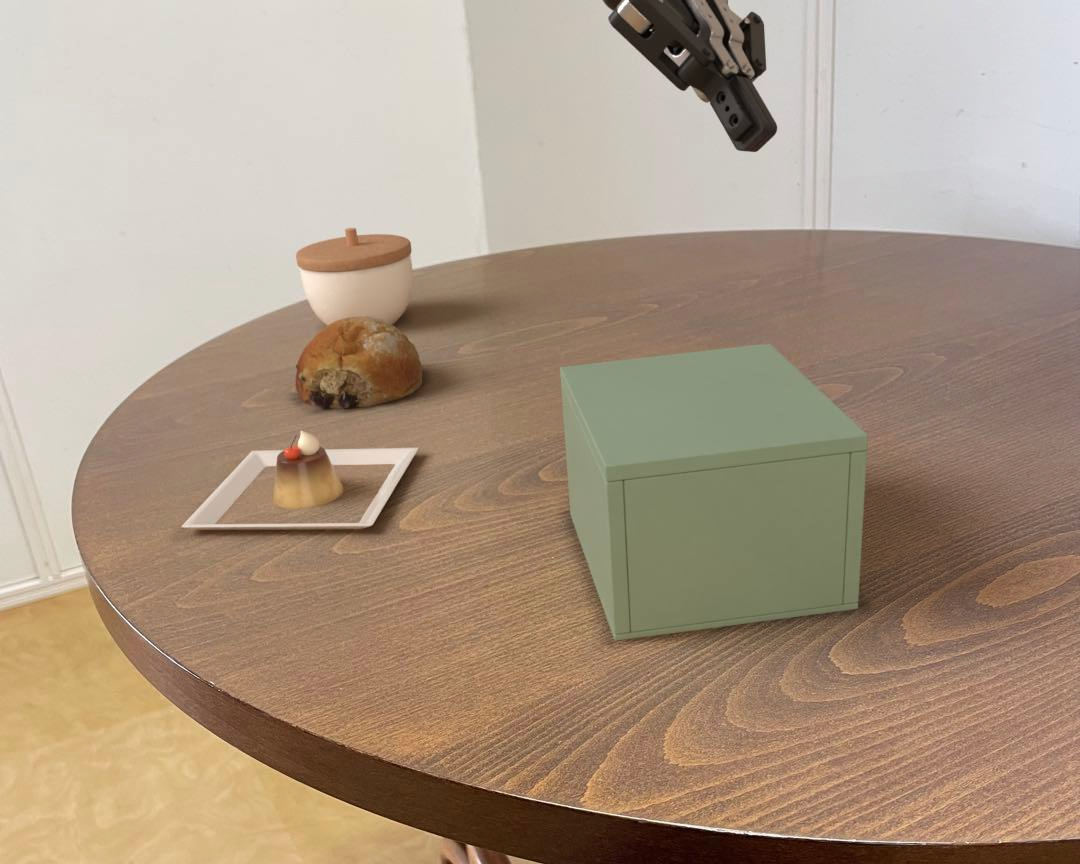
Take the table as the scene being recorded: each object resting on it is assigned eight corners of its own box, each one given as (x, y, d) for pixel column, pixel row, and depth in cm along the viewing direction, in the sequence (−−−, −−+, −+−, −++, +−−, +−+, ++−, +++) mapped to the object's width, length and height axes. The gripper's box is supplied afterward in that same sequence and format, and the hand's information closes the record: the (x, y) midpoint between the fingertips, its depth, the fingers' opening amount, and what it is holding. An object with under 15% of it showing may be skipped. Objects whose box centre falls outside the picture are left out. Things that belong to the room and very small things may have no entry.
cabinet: (570, 520, 67) (559, 366, 63) (768, 496, 68) (770, 342, 64) (615, 649, 54) (604, 466, 50) (858, 617, 55) (868, 434, 51)
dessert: (184, 543, 69) (166, 471, 66) (255, 465, 79) (241, 400, 77) (374, 542, 67) (362, 468, 65) (420, 462, 77) (412, 396, 75)
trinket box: (415, 339, 104) (401, 236, 100) (300, 348, 104) (281, 246, 100) (425, 308, 113) (413, 213, 109) (319, 316, 114) (303, 222, 110)
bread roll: (437, 436, 91) (459, 338, 90) (334, 419, 84) (357, 313, 83) (364, 411, 98) (384, 320, 97) (263, 394, 90) (283, 295, 89)
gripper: (591, -173, 61) (740, 84, 58) (731, -118, 70) (866, 106, 67) (513, -61, 66) (645, 180, 63) (653, -24, 76) (775, 188, 72)
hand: (759, 142), depth 65 cm, fingers closed
